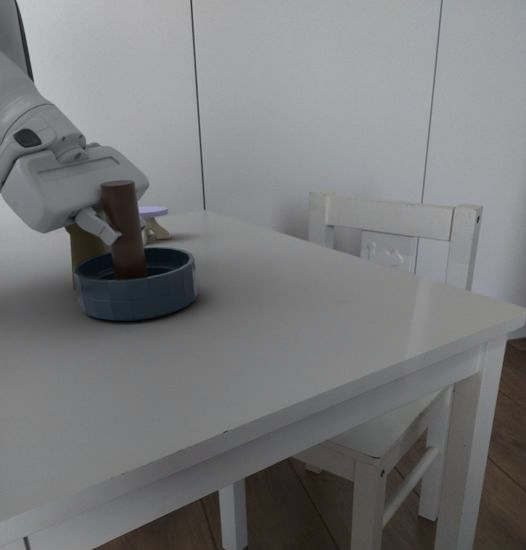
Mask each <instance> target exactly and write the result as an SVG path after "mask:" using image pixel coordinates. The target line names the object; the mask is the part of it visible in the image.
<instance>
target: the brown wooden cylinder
mask: <svg viewBox="0 0 526 550" xmlns="http://www.w3.org/2000/svg"><path fill="white" fill-rule="evenodd" d="M100 187H101V193H102V200H103V206H104V212H105V218H106V223H107V224H109V225H110V224H114V225H115V226H116V227H117V229H118V230H120V231H121V232H122V237H121V238H120V239H119V241H118V242H117V243H115V244H113V245H110V248H111V254H112V260H113V267H114V273H115V279H116V280H129V279H137V278H145V277H148V273H147V266H146V259H145V252H144V247H145V245H143V237H142V230H141V223H140V216H139V209H138V207H139V202H138V201H137V194H136V187H135V182H134V181H131V180H118V181H109V182H104V183H102V184H100Z"/></svg>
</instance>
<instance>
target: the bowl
mask: <svg viewBox="0 0 526 550" xmlns="http://www.w3.org/2000/svg"><path fill="white" fill-rule="evenodd" d="M144 252H145V259H146V266H147V273H148V277H145V278H137V279H129V280H116V279H115V273H114V267H113V260H112V254H111V252H106V253H103V254H99V255H96V256H93V257H90V258H88V259H86V260H83V261H81V262H80V263H79V264H77V265H76V266H75V267H74V272H73V273H74V278H75V283H76V288H77V290H76V293H77V299H78V303H79V304H78V305H79V309H80V310H81V311H82V312H83V313H84V314H86V315H88V316H91V317H93V318H96V319H100V320H101V319H102V320H106V321H111V322H112V321H114V322H137V321H144V320H151V319H157V318H160V317H164V316H167V315H170V314H173V313H175V312H177V311H180V310H181V309H183V308H186V307H188V306H189V305H190V304H192V303H193V302H194V301H196V299H197V296H198V294H199V290H198V281H197V279H198V278H197V270H196V261H195V259H196V258H195V256H194V255H193V253H191V252H189V251H188V250H185V249H181V248H176V247H166V246H144Z"/></svg>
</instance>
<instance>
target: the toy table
mask: <svg viewBox="0 0 526 550" xmlns="http://www.w3.org/2000/svg"><path fill="white" fill-rule="evenodd" d="M138 209H139V215H140V216H141V217H142V218H143V219H144V220H145V221H146V223H147V226H146V228H145V229H144V230H143V231H142V237H143V245H144V246H146V244H147V243H148V242H147V241H148V240H147V237H150V236H151V232H152V233H153V234H154V236H155V239H156V240H164V239H165V240H166V239H170V238H171V233H170V232H169V231H168V230H167V229H166V228H164V227H163V226H161V225H160V224H159V223H158V221H157V220H156V218H157V217H158V218H159V217H163V216H167V215H168V214H169V210H168V209H169V208H168V207H166V206H162V205H161V206H160V205H159V206H158V205H148V206H147V205H144V206H138Z"/></svg>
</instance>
